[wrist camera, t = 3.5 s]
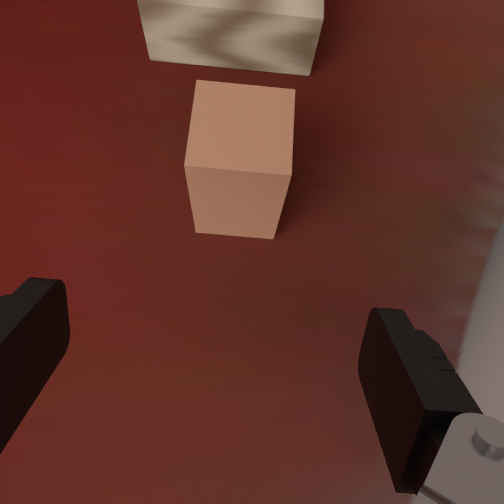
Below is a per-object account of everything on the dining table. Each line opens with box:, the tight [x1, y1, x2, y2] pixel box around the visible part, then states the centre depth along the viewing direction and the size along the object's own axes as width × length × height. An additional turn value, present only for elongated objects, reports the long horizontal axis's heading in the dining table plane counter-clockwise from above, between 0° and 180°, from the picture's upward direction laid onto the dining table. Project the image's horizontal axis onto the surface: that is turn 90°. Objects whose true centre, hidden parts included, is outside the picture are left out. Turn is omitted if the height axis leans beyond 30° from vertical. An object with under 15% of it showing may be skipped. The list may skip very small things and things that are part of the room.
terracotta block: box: [184, 80, 295, 239], centre depth 24 cm, size 5×5×8 cm
